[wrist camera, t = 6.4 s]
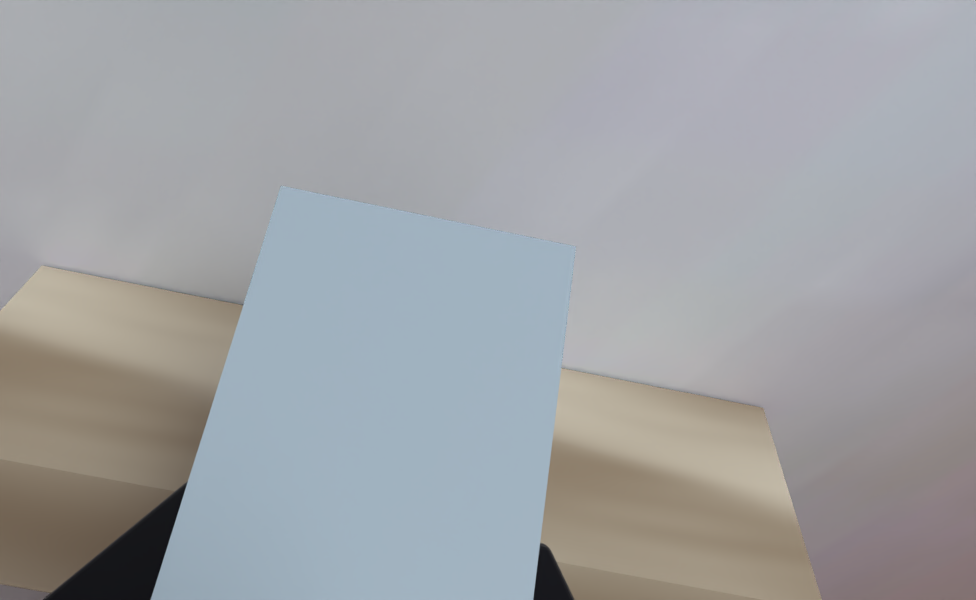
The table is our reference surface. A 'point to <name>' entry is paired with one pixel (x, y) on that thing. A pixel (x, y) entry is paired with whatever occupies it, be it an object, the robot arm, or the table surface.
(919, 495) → the table surface
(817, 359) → the table surface
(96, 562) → the robot arm
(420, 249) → the pale blue plank
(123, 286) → the maple rail
